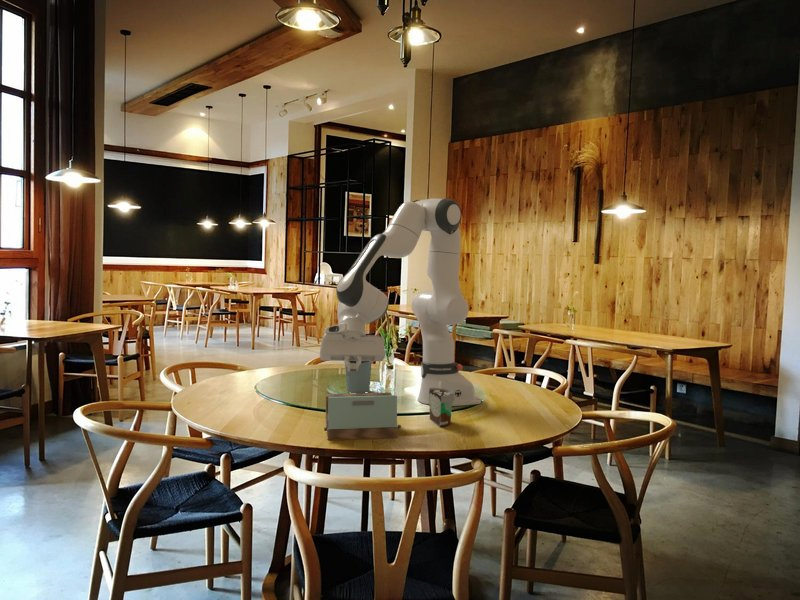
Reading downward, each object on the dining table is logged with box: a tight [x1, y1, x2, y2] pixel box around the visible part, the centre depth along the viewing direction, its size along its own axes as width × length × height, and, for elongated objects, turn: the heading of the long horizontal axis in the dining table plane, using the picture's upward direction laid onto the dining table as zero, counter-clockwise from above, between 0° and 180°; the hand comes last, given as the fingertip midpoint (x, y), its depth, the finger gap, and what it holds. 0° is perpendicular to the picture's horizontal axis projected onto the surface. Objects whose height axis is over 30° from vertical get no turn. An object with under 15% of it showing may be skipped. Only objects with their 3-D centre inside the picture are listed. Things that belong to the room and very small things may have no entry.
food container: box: [429, 388, 455, 428], centre depth 206 cm, size 12×6×10 cm, turn 17°
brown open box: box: [323, 392, 402, 440], centre depth 194 cm, size 22×14×10 cm, turn 99°
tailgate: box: [328, 394, 398, 429], centre depth 188 cm, size 20×2×9 cm, turn 99°
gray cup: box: [344, 361, 373, 393], centre depth 246 cm, size 10×10×12 cm
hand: (353, 370), depth 198 cm, fingers closed
